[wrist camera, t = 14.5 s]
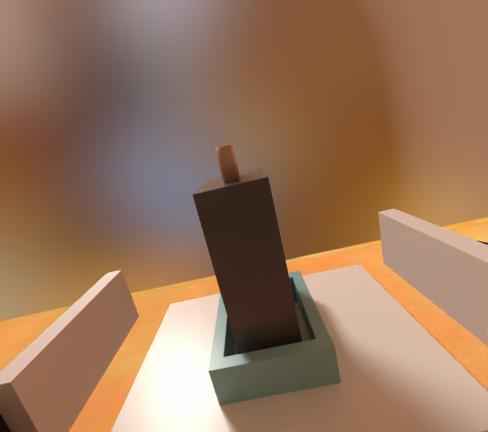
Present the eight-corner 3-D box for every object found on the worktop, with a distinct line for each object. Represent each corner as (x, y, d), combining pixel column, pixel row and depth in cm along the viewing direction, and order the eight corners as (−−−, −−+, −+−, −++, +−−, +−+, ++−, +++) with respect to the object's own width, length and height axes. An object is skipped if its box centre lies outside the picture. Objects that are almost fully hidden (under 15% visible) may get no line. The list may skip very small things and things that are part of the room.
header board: (86, 515, 12) (57, 462, 12) (173, 312, 28) (163, 283, 27) (520, 441, 11) (522, 378, 11) (360, 272, 27) (356, 241, 26)
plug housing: (244, 377, 17) (181, 156, 13) (244, 318, 22) (200, 153, 19) (307, 365, 16) (259, 137, 13) (290, 308, 22) (254, 140, 19)
